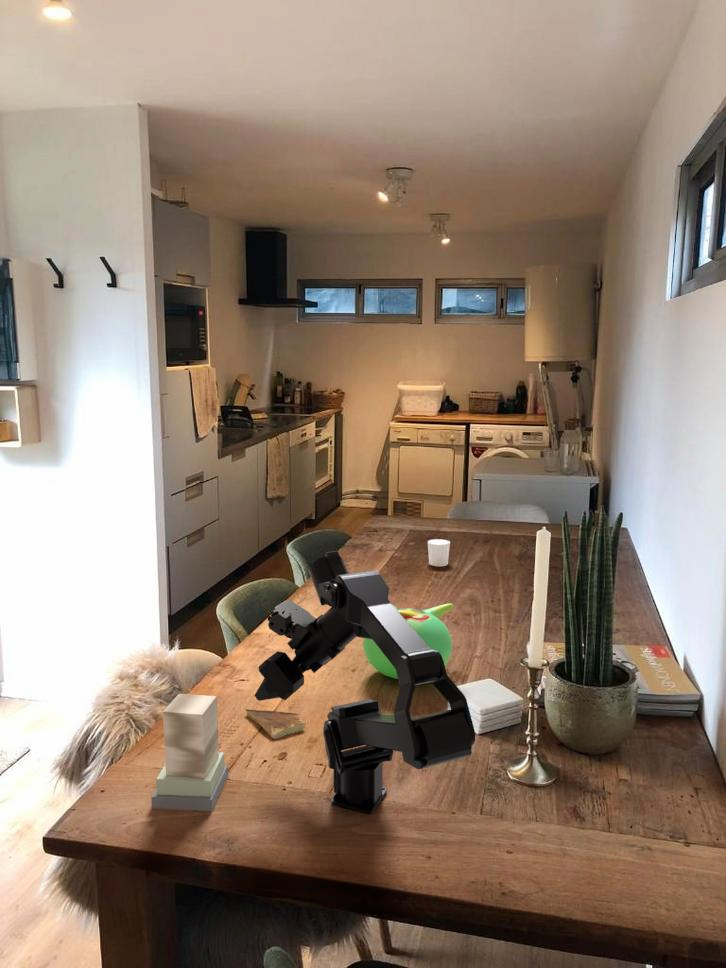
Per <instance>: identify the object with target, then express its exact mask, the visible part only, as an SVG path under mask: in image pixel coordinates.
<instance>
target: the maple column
mask: <svg viewBox="0 0 726 968" xmlns="http://www.w3.org/2000/svg"><path fill="white" fill-rule="evenodd" d="M162 717H163V720H162V721H163V722H162V723H163V737H164V738H163V739H164V740H163V741H164V757H165V758H164V762H165V763H164V766H166V775H170V776H181V777H192V778H203V779H205V778H206V776H207V775H208V773H209V772H210V770H211V769H212V767H213V766H214V764H215V762H216V761H217V759H218V758H219V752H220V751H219V749H220V748H219V725H218V720H219V719H218V697H217V696H216V695H204V694H203V695H201V694H190V693H178V694H177V695H176V696H175V697H174V698H173V700H172V701H171V702H170V703H169V704H168V706H167V707H165V709H164V710H163V711H162Z"/></svg>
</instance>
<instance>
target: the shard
mask: <svg viewBox="0 0 726 968" xmlns="http://www.w3.org/2000/svg"><path fill="white" fill-rule="evenodd" d="M245 712H246V715H247V717H248V718H249V719H251V720H252V721H254V722H255V723H256V724H257V725H258V726H260V727H262V729H263V730H264V731H265V732H266V733H267V734H268V735H269V736H270V738H273V740H276V739H280V738H283V737H285V735H286V736H288V735H291V733H292V734H296V733H300V732H302V731H304V728H305V727H306V721H304V720H303V719H302V718H301V717H300V713H293V712H284V711H275V710H255V709H245ZM299 731H300V732H299ZM295 732H296V733H295ZM287 734H288V735H287Z"/></svg>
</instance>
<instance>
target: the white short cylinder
mask: <svg viewBox="0 0 726 968" xmlns="http://www.w3.org/2000/svg"><path fill="white" fill-rule="evenodd" d="M450 547H451V541H450V540H447V539H440V538H434V539H429V540H427V550H428V551H427V554H428V565H430V566H433V567H440V568H441V567H445V566H448V563H449V556H450Z"/></svg>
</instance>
